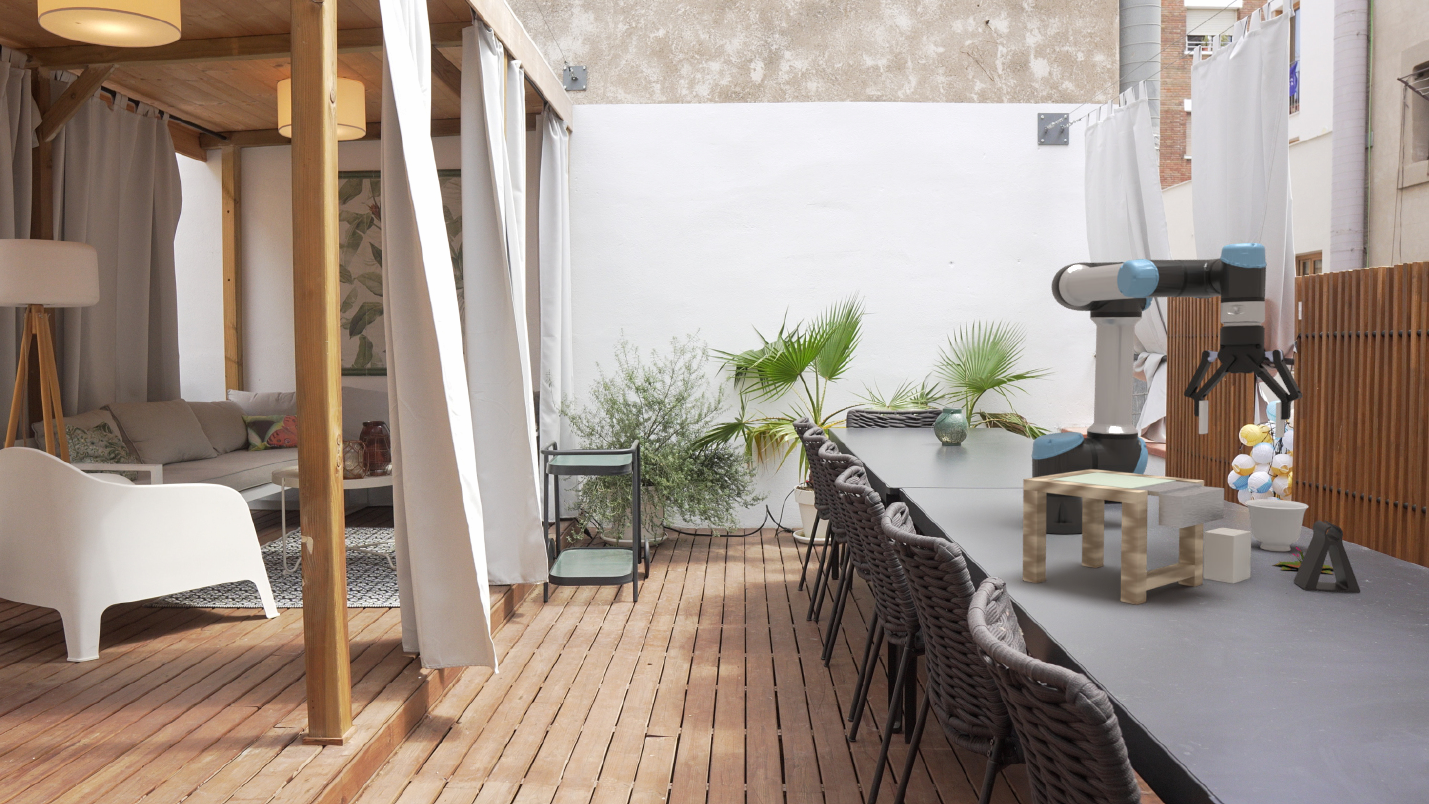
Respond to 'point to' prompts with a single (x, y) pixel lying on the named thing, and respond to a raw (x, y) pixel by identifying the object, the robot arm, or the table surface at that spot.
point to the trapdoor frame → (1133, 534)
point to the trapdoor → (1167, 497)
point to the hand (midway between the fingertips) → (1240, 435)
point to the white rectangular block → (1227, 555)
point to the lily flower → (1297, 564)
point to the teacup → (1276, 522)
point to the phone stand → (1316, 557)
